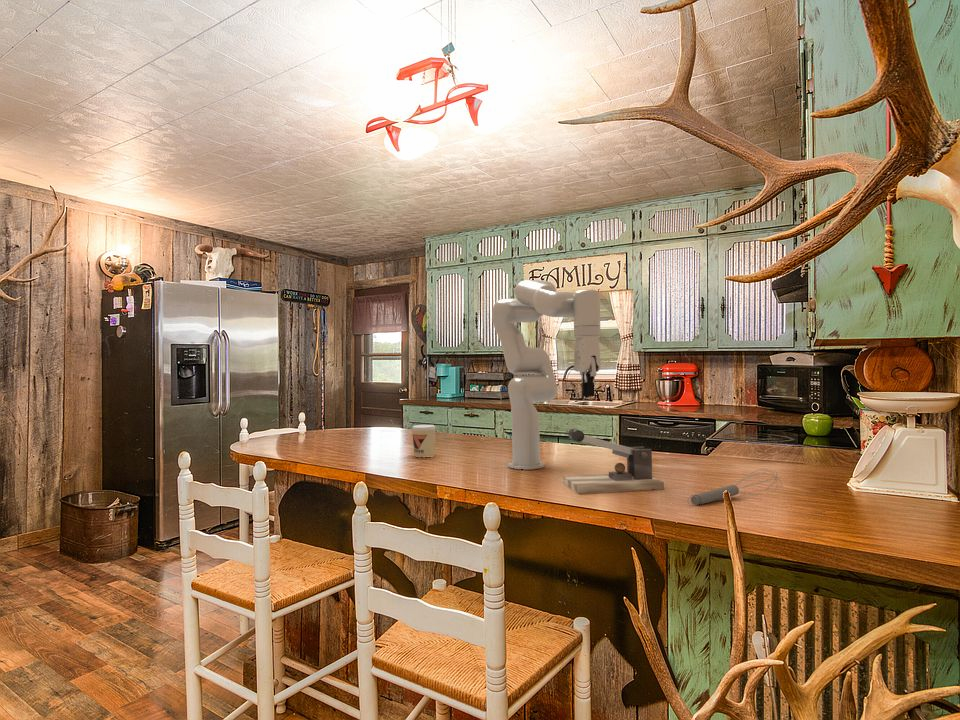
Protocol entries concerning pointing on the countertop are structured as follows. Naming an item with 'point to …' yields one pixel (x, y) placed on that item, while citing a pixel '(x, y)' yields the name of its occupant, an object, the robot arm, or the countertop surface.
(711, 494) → the kitchen whisk
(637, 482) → the nutcracker base
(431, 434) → the coffee cup
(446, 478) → the countertop surface
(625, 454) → the nutcracker lever
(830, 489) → the countertop surface
